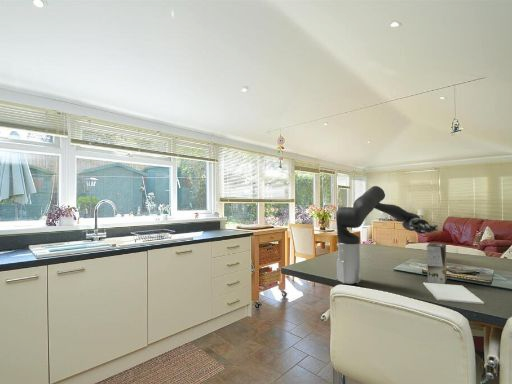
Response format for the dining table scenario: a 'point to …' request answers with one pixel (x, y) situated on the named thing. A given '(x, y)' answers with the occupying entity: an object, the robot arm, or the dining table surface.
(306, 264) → the dining table surface
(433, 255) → the coffee box
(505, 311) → the dining table surface
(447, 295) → the white flat rectangular board
